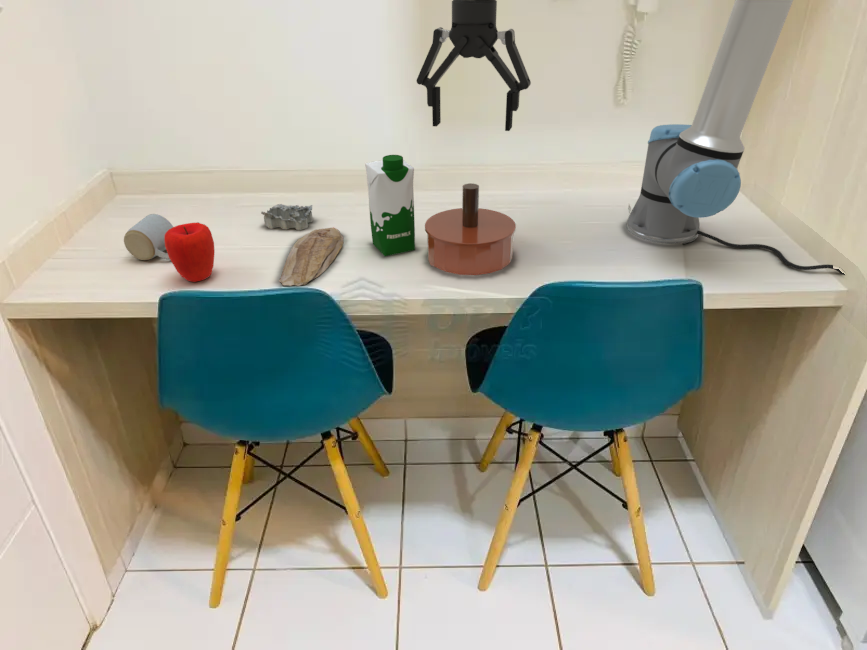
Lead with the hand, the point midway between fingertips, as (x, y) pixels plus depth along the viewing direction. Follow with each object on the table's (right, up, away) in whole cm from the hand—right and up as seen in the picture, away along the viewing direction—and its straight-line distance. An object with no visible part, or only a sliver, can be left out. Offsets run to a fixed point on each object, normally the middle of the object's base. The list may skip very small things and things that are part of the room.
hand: (472, 127), depth 116 cm
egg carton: (-41, -13, +31) cm, 53 cm away
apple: (-54, -27, +9) cm, 61 cm away
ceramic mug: (-65, -22, +18) cm, 71 cm away
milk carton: (-16, -20, +19) cm, 32 cm away
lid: (0, -17, +11) cm, 20 cm away
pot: (0, -23, +14) cm, 27 cm away
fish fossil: (-33, -22, +16) cm, 43 cm away
